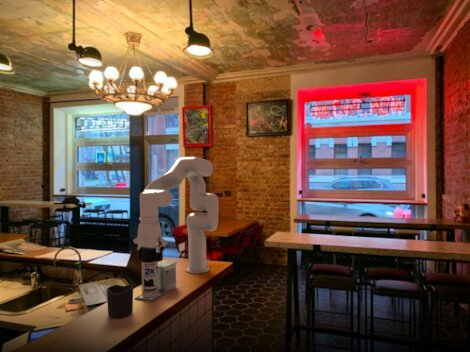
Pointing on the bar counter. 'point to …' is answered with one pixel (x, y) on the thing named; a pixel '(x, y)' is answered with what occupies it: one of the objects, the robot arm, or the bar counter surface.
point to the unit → (166, 276)
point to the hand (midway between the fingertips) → (150, 259)
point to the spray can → (149, 273)
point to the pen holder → (120, 301)
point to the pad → (150, 298)
